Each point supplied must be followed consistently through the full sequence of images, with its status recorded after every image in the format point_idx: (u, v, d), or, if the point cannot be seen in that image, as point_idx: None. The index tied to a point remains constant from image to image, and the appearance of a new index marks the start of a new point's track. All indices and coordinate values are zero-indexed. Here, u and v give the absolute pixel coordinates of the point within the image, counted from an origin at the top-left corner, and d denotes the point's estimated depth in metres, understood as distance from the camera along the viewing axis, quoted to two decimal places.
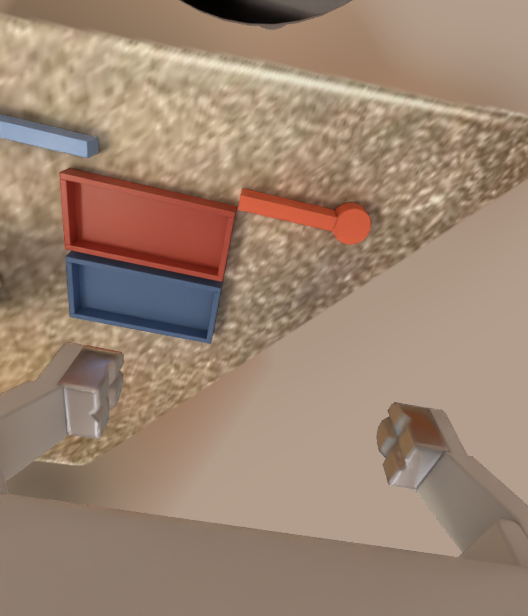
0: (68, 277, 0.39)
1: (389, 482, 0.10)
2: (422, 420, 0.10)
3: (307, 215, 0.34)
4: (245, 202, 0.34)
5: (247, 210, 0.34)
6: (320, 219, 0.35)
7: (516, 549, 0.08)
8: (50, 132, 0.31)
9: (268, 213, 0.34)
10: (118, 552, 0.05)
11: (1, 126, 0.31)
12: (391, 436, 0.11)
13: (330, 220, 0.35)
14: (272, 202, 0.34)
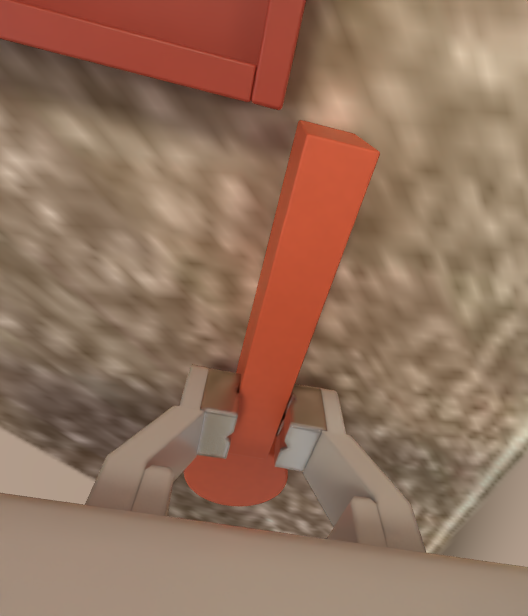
0: None
1: (275, 464, 0.10)
2: (308, 400, 0.10)
3: (273, 396, 0.10)
4: (340, 175, 0.07)
5: (300, 184, 0.07)
6: (260, 426, 0.11)
7: (362, 527, 0.07)
8: None
9: (283, 276, 0.08)
10: (118, 551, 0.05)
11: None
12: (283, 417, 0.11)
13: (257, 447, 0.11)
14: (327, 288, 0.08)
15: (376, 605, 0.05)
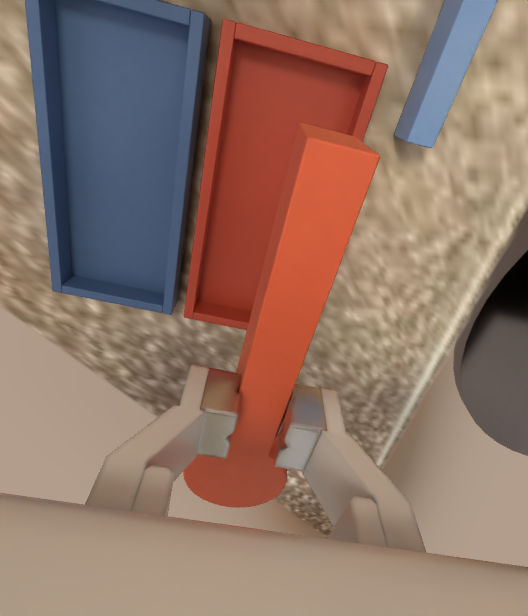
0: (147, 2, 0.16)
1: (275, 464, 0.10)
2: (308, 400, 0.10)
3: (273, 397, 0.10)
4: (341, 179, 0.07)
5: (301, 187, 0.07)
6: (259, 428, 0.11)
7: (362, 527, 0.07)
8: (462, 76, 0.17)
9: (283, 278, 0.08)
10: (118, 551, 0.05)
11: None
12: (283, 418, 0.11)
13: (257, 449, 0.11)
14: None
15: (376, 605, 0.05)
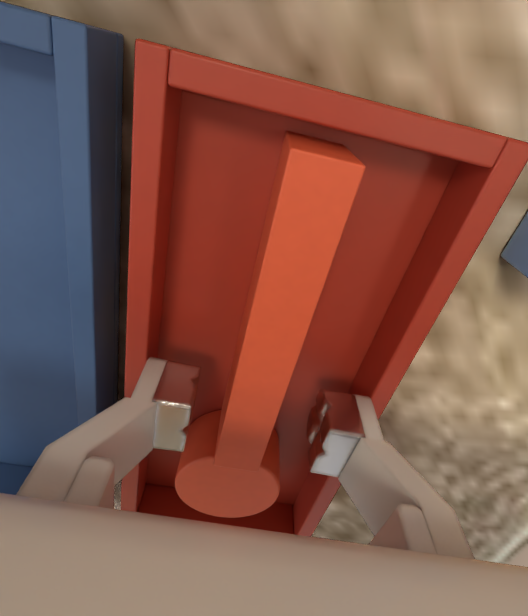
0: None
1: (311, 469, 0.10)
2: (344, 406, 0.10)
3: (263, 409, 0.10)
4: (326, 190, 0.07)
5: (285, 199, 0.07)
6: (250, 439, 0.11)
7: (411, 533, 0.07)
8: None
9: (270, 290, 0.08)
10: (118, 551, 0.05)
11: None
12: (317, 423, 0.11)
13: (247, 460, 0.11)
14: None
15: (376, 605, 0.05)
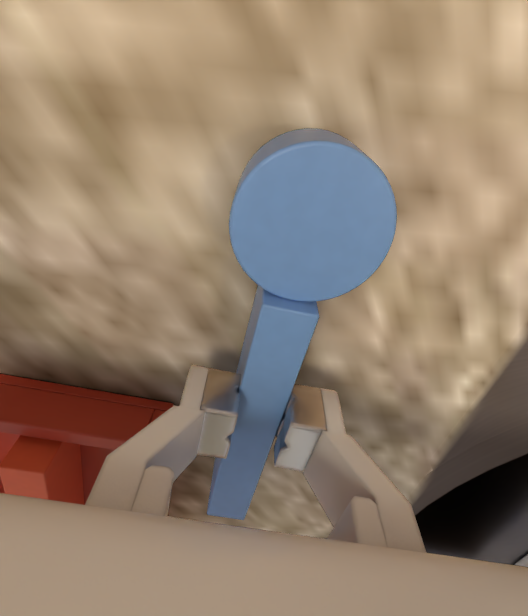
0: None
1: (275, 464, 0.10)
2: (308, 400, 0.10)
3: None
4: (27, 481, 0.12)
5: (6, 483, 0.12)
6: None
7: (362, 527, 0.07)
8: None
9: None
10: (118, 551, 0.05)
11: (281, 379, 0.10)
12: (283, 418, 0.11)
13: None
14: None
15: (376, 605, 0.05)
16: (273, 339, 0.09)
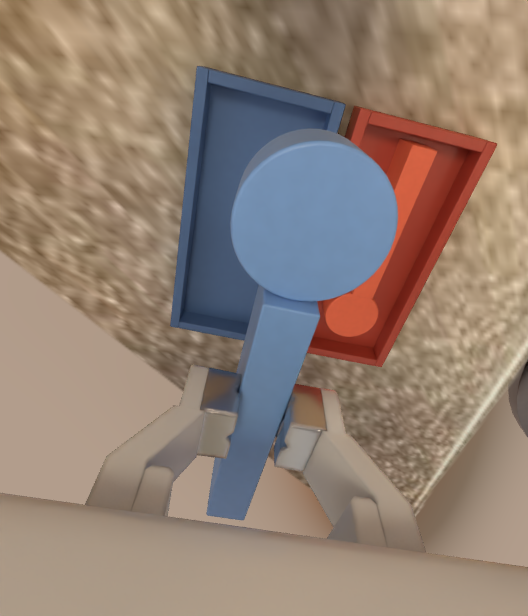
0: (298, 96, 0.19)
1: (275, 464, 0.10)
2: (308, 400, 0.10)
3: None
4: (422, 159, 0.19)
5: (408, 163, 0.19)
6: (373, 278, 0.23)
7: (362, 527, 0.07)
8: None
9: (396, 200, 0.21)
10: (118, 551, 0.05)
11: (282, 379, 0.10)
12: (283, 417, 0.11)
13: (369, 291, 0.24)
14: (412, 206, 0.21)
15: (376, 605, 0.05)
16: (273, 339, 0.09)
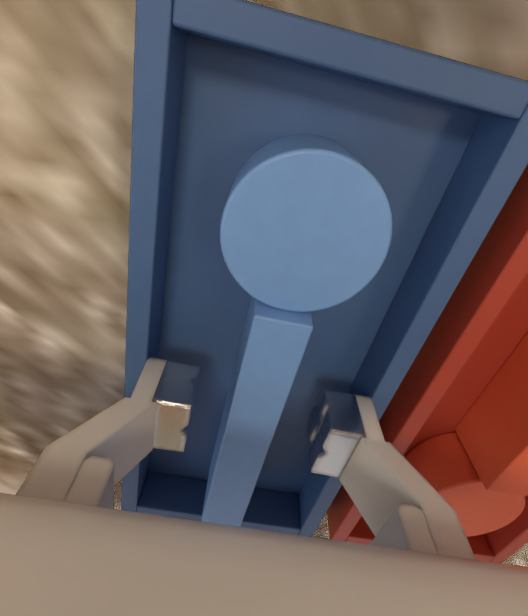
0: (437, 69, 0.06)
1: (311, 470, 0.10)
2: (344, 406, 0.10)
3: None
4: None
5: None
6: None
7: (412, 534, 0.07)
8: None
9: None
10: (118, 551, 0.05)
11: (274, 390, 0.09)
12: (317, 423, 0.11)
13: (524, 486, 0.11)
14: None
15: (376, 605, 0.05)
16: (266, 350, 0.09)
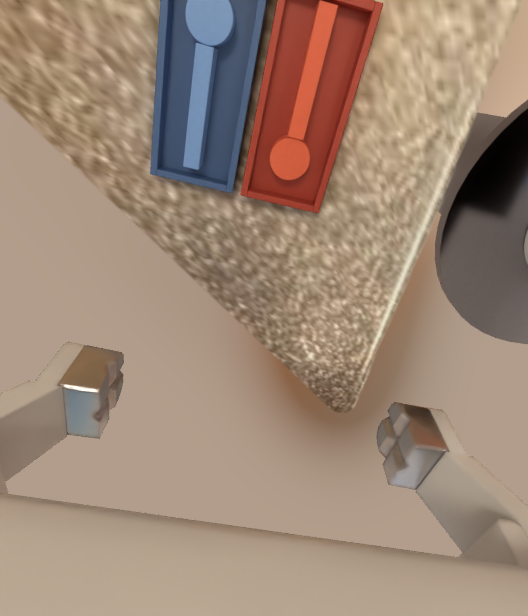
0: None
1: (389, 482, 0.10)
2: (422, 420, 0.10)
3: (307, 103, 0.30)
4: (328, 12, 0.27)
5: (317, 15, 0.27)
6: (301, 120, 0.31)
7: (516, 549, 0.08)
8: (203, 132, 0.31)
9: (312, 48, 0.28)
10: (118, 551, 0.05)
11: (205, 78, 0.29)
12: (391, 436, 0.11)
13: (300, 132, 0.31)
14: (324, 54, 0.28)
15: (376, 605, 0.05)
16: (200, 58, 0.29)
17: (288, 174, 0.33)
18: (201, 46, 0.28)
